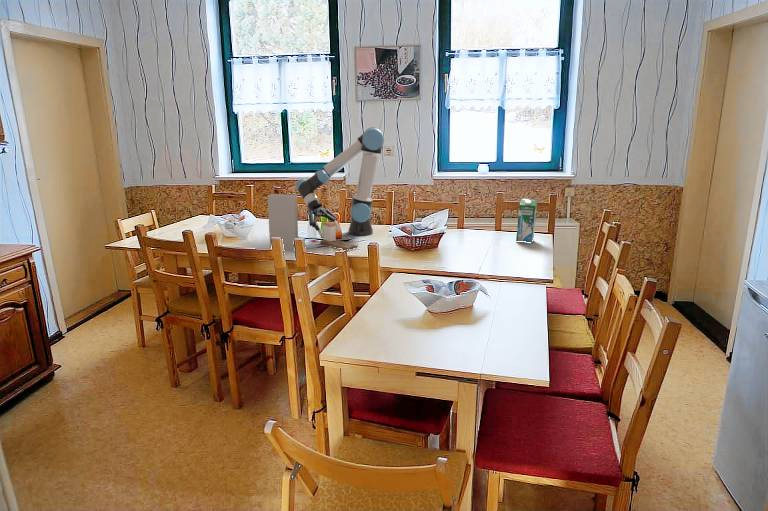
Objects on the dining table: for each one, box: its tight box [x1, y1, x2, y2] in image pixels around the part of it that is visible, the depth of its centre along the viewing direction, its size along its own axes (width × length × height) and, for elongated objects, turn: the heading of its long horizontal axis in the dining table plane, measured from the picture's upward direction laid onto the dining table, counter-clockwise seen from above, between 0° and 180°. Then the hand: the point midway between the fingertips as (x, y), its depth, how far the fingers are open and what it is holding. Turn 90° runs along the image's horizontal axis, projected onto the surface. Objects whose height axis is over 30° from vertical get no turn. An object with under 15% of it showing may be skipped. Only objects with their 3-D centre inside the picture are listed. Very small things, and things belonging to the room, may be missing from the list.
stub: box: [322, 220, 337, 242], centre depth 289 cm, size 4×6×10 cm
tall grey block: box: [267, 193, 299, 253], centre depth 273 cm, size 14×6×30 cm, turn 84°
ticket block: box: [319, 239, 359, 251], centre depth 286 cm, size 8×22×2 cm, turn 49°
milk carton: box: [515, 198, 538, 243], centre depth 301 cm, size 9×9×25 cm
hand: (331, 232), depth 288 cm, fingers open, 13 cm apart
